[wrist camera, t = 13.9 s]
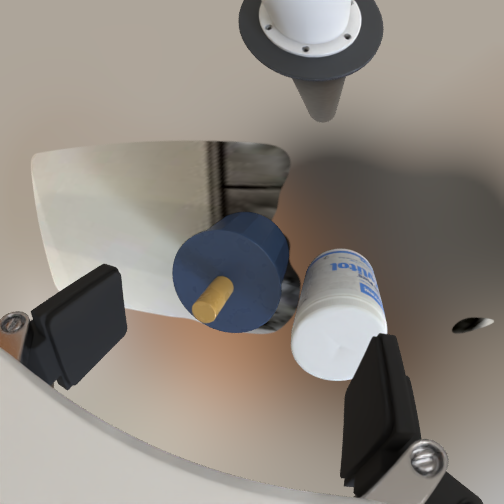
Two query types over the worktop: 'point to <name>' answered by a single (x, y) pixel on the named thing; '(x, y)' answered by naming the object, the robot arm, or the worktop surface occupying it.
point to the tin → (259, 235)
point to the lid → (226, 280)
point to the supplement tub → (336, 315)
